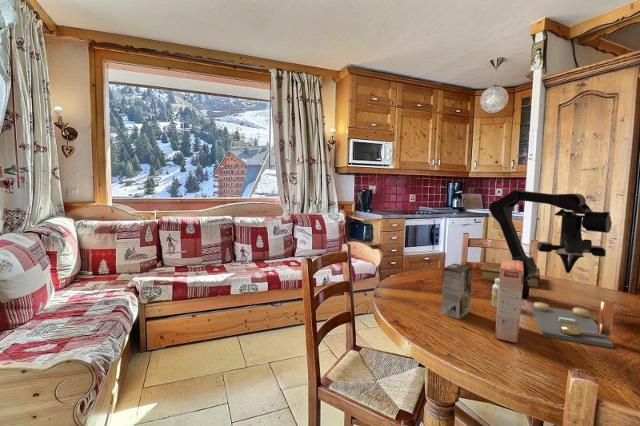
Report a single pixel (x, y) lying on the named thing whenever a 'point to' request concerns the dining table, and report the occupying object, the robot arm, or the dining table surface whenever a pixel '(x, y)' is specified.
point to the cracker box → (509, 300)
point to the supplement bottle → (495, 292)
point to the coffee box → (456, 290)
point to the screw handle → (603, 322)
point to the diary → (493, 271)
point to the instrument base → (579, 317)
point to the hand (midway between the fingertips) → (567, 272)
